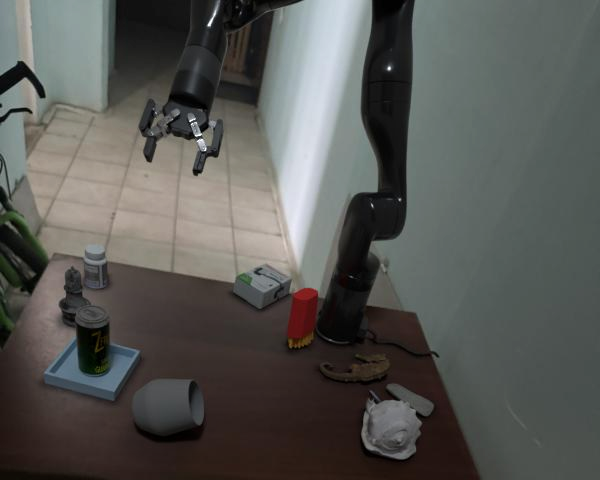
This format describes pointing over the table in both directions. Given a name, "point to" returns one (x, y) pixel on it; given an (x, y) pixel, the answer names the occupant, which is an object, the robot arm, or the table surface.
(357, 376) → the seahorse
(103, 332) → the beer can
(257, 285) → the ink box
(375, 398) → the pen
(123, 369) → the tray
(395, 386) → the decorative stone
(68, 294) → the grey chess piece
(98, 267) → the pill bottle
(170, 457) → the table surface
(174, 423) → the cup
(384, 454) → the seashell
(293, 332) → the french fries
